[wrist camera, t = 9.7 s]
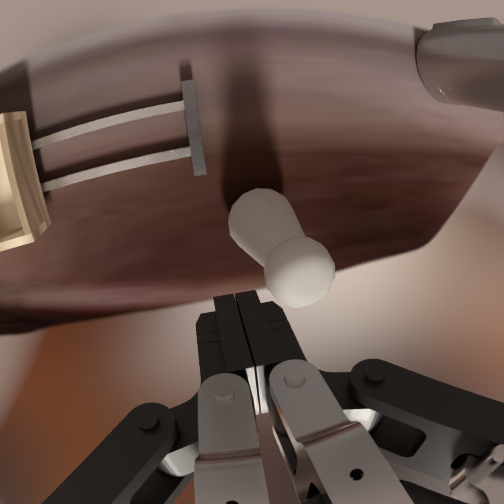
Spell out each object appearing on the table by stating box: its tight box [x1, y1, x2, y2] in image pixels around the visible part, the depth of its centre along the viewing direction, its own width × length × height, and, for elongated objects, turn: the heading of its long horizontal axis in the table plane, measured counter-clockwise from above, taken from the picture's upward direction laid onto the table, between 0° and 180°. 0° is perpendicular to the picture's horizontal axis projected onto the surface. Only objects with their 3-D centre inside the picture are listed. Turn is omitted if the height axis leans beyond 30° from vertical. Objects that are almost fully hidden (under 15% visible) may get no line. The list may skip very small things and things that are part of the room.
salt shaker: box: [228, 188, 335, 308], centre depth 24 cm, size 6×6×13 cm
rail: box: [31, 79, 207, 193], centre depth 22 cm, size 28×9×2 cm, turn 96°
